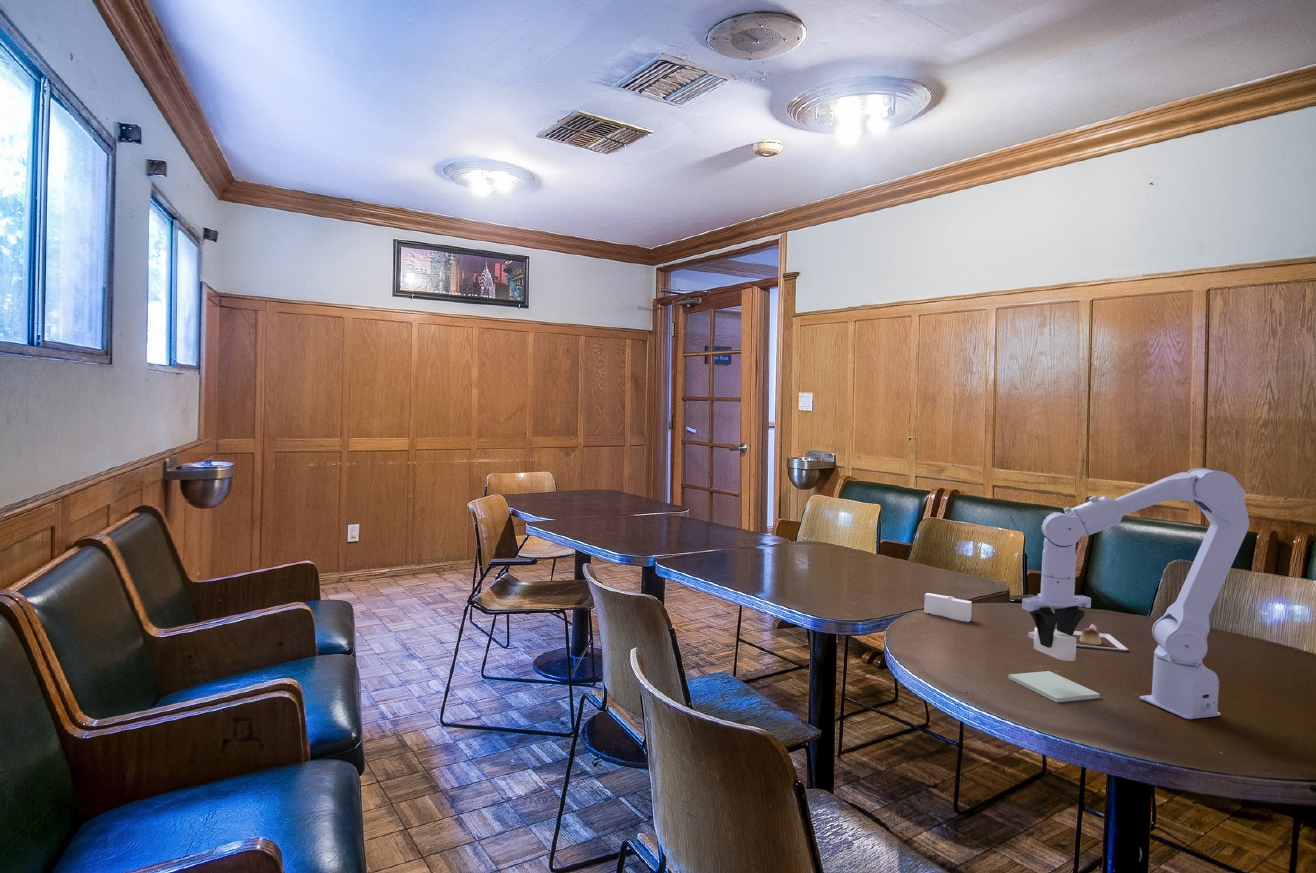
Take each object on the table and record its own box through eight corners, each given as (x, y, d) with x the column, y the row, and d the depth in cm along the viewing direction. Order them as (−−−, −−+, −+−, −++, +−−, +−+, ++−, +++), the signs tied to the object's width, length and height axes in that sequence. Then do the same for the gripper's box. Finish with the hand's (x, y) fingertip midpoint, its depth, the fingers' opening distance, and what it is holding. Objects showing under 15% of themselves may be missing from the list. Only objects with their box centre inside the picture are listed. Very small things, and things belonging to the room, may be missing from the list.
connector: (1079, 660, 136) (1081, 639, 136) (1064, 661, 135) (1065, 640, 135) (1038, 643, 146) (1039, 623, 145) (1024, 644, 145) (1025, 624, 145)
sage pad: (1099, 697, 135) (1099, 693, 135) (1056, 702, 133) (1056, 698, 133) (1049, 674, 147) (1049, 670, 147) (1008, 678, 144) (1008, 674, 144)
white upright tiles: (911, 611, 193) (912, 590, 193) (947, 609, 196) (948, 588, 196) (948, 628, 179) (949, 606, 178) (986, 626, 182) (987, 603, 182)
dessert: (1070, 649, 166) (1071, 628, 166) (1054, 633, 177) (1055, 614, 177) (1128, 654, 163) (1129, 633, 163) (1109, 638, 175) (1110, 618, 174)
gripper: (1071, 569, 145) (1068, 636, 145) (1011, 572, 141) (1008, 640, 141) (1101, 578, 138) (1097, 647, 139) (1039, 580, 134) (1036, 652, 135)
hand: (1054, 645), depth 140 cm, fingers closed on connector, 4 cm apart
